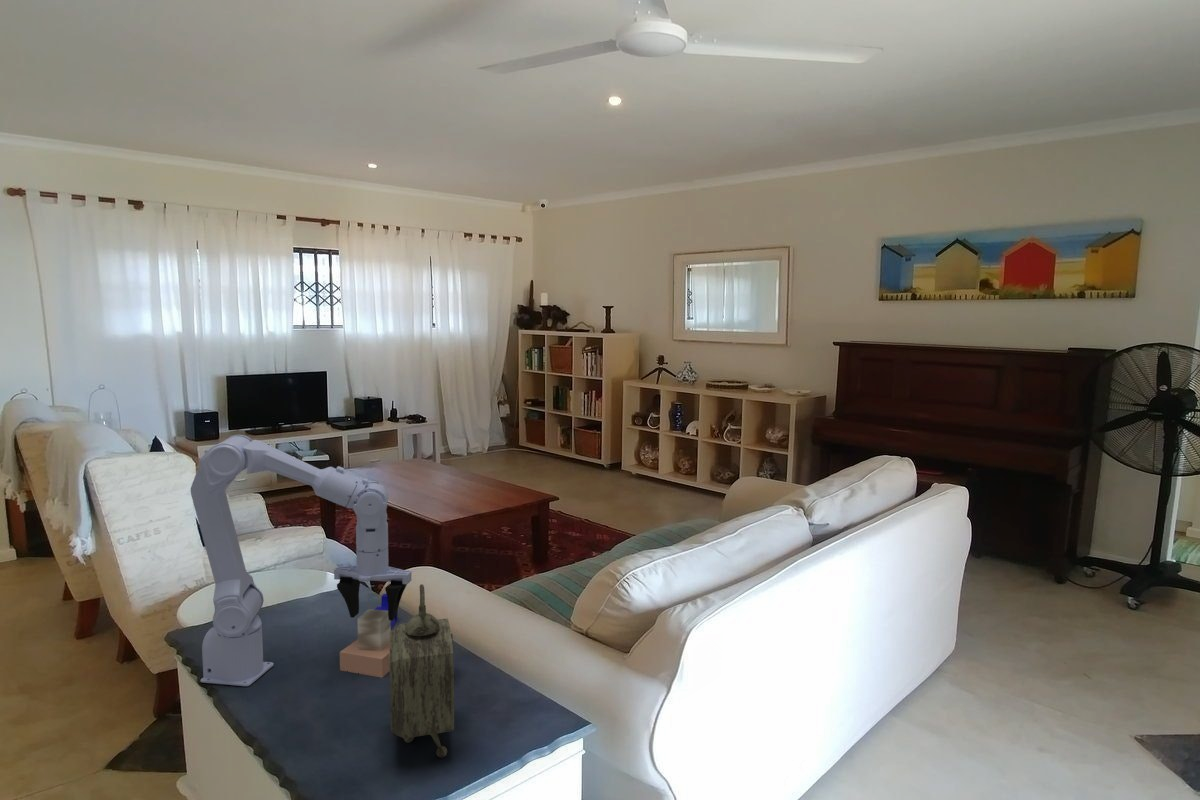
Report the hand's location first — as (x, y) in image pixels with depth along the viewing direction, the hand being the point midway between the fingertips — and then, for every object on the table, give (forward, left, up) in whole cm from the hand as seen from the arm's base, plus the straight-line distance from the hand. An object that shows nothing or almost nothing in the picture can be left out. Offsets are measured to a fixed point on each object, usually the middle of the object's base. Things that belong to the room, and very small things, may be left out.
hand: (373, 616), depth 131 cm
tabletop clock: (+18, -22, -9) cm, 30 cm away
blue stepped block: (-5, +13, -10) cm, 17 cm away
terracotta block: (0, 0, -10) cm, 10 cm away
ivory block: (0, 0, -6) cm, 6 cm away
